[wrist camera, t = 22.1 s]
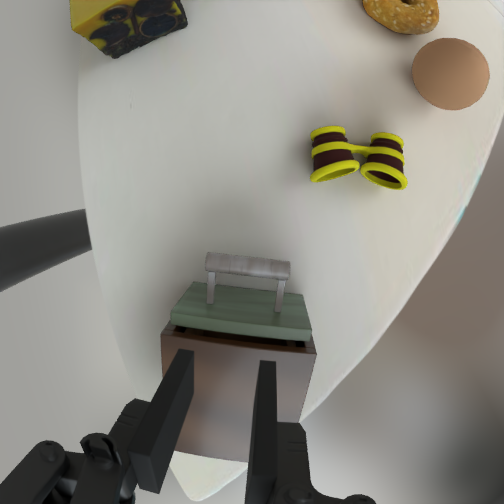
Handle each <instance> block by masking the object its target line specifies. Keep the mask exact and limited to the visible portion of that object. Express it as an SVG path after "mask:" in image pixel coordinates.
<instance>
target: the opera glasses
mask: <svg viewBox="0 0 504 504" xmlns="http://www.w3.org/2000/svg"><path fill="white" fill-rule="evenodd" d="M345 135H346V132H345V129H344V128H343V127H340V126H326V127H322V128H318V129H316V130H314V131H312V132H311V134H310V137H311V140H312V141H314V142H313V144H312V146H313V147H314V148H313V149H312V159H314V172H313V173H312V174H311V175H310V180H311V181H312V182H322V181H327V180H331V179H335V178H338V177H341V176H344V175H347V174H350V173H353V172H355V171H357V170H358V169H359V167H360V165H359V162H358V161H356V160H354V158H353V156H352V154H353V153H359V154H362V155H363V156H364V157H365V158H366V159H367V160H366V163H365V164H363V165H362V166H361V168H360V172H361V174H362V175H363V176H364V177H365V178H366V179H368V180H369V181H371V182H373V183H375V184H377V185H380V186H383V187H386V188H389V189H395V190H402V189H405V188H406V186H407V178H406V177H405V176H404V173H403V166H404V164H405V163H404V156H403V155H402V154H403V150H402V148H403V145H404V143H403V140H402V139H401V138H400V137H398V136H396V135H394V134H391V133H385V132H379V133H375V134H373V135H372V136H371V143H372V144H371V145H370V147H366V146H358V145H352V144H349V143H347V141H348V140H347V138H345V137H344V136H345Z"/></svg>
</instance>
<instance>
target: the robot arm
mask: <svg viewBox="0 0 504 504" xmlns="http://www.w3.org/2000/svg"><path fill="white" fill-rule="evenodd" d="M193 395H194V351H192V350H186V349H180V348H179V349H178V351H177V353H176V355H175V357H174V359H173V360H172V362H171V364H170V366H169V368H168V370H167V372H166V374H165V376H164V378H163V379H162V381H161V383H160V385H159V387H158V389H157V391H156V393H155V395H154V397H153V399H152V401H151V402H147V401H143V400H139V399H136V398H135V399H134V400H132V401H131V402H129V403H128V404H126V406H125V407H124V409H123V411H122V412H121V415H120V416H119V418H118V419H117V422H115V424H114V426H113V427H112V429H111V431H110V432H109V434H108V435H106V434H103V433H92V434H88V435H87V436H85V437H83V439H82V440H81V441H80V444H81V446H82V448H83V451H84V453H75V452H69V451H64V449H63V447H62V446H61V445H60V444H59V443H57V442H54V441H47V440H46V441H42V442H40V443H38V444H37V445H36V446H35V447H34V448H33V449H32V450H31V451H30V452H29V453H28V454H27V455H26V456H25V458H24V459H23V460H22V461H21V462H20V463H19V464H18V465H17V466H16V467H15V469H14V470H13V471H12V472H11V473H10V474H9V475H8V476H7V477H6V479H5V480H4V481H3V482H2V483H1V484H0V504H135V492H134V490H135V487H136V485H137V483H138V485H139V488H140V489H143V490H146V491H150V492H153V493H157V494H159V493H160V490H161V487H162V484H163V481H164V478H165V475H166V472H167V470H168V467H169V464H170V461H171V458H172V455H173V452H174V449H175V446H176V444H177V441H178V438H179V435H180V432H181V429H182V426H183V423H184V421H185V418H186V415H187V412H188V409H189V406H190V403H191V401H192V398H193ZM306 442H307V441H306V432H305V431H304V429H303V428H302V426H301V424H300V423H292V422H277V373H276V361H266V360H260V364H259V370H258V377H257V384H256V390H255V397H254V405H253V417H252V428H251V440H250V451H249V462H248V472H247V484H246V494H245V504H376V503H375V501H374V500H373V499H372V498H370V497H368V496H365V495H362V494H358V495H352V496H348V497H347V498H345V499H339V498H333V497H329V496H326V495H323V494H321V493H319V492H318V491H317V490H316V489H315V488H314V487H313V486H312V483H311V480H310V469H309V460H308V452H307V444H306Z"/></svg>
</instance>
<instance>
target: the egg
mask: <svg viewBox="0 0 504 504" xmlns="http://www.w3.org/2000/svg"><path fill="white" fill-rule="evenodd" d="M412 75H413V81H414V84H415V86H416V88H417V90H418V91H419V93H420V94H421V96H422V97H423V98H424V99H425V100H427V101H428V102H429V103H431V104H432V105H434V106H436V107H438V108H441V109H445V110H460V109H463V108H466V107H469V106H471V105H472V104H474V103H475V102H477V101H478V100H479V99H480V98H481V97H482V95H483V94H484V92H485V90H486V88H487V85H488V82H489V77H490V74H489V67H488V63H487V61H486V59H485V57H484V55H483V54H482V53H481V52H480V50H479V49H477V48H476V47H475V46H474V45H472V44H470V43H468V42H466V41H464V40H460V39H456V38H442V39H437V40H434V41H432V42H430V43H428V44H426V45H425V46H424V47H422V48H421V49H420V50H419V52H418V53H417V55H416V56H415V58H414V61H413V66H412Z"/></svg>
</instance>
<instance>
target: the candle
mask: <svg viewBox="0 0 504 504" xmlns="http://www.w3.org/2000/svg"><path fill="white" fill-rule="evenodd" d="M70 14H71V27H72V30H73V31H75V32H76V33H78V34H80V35H82V36H83V37H85V38H86V39H87V40H88V41H90V42H91V43H93V44H94V45H95V46H96V47H97V48H98V49H99V50H100V51H102V52H103V53H104V54H105V55H109V56H111V57H112V58H114V59H115V58H119V57H120V56H121V55H123V54H125V53H129V52H130V51H131V50H133V49H135V48H137V47H139V46H140V47H141V46H143V45H145V44H147V43H149V42H151V41H153V40H155V39H157V38H159V37H161V36H166V35H167V34H168V33H170V32H174V31H176V30H179V29H183V28H185V27H186V26H187V25H188V23H187V18H186V15H185V11H184V8H183V6H182V4H181V2H180V0H70Z"/></svg>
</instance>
